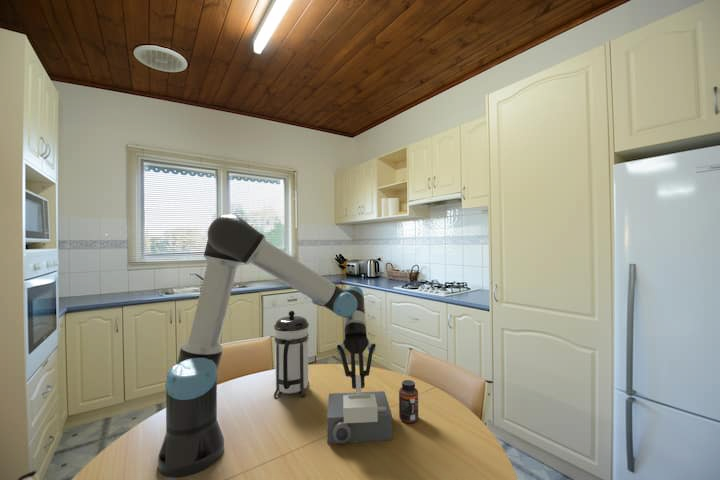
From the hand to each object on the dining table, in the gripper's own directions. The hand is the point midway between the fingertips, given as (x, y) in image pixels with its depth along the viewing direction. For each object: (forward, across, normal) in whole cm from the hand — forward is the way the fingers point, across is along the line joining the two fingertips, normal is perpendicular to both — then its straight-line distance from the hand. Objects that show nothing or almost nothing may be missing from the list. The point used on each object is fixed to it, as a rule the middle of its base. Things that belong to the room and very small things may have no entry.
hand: (359, 399), depth 91 cm
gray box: (+6, 0, -8) cm, 10 cm away
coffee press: (-12, +23, -26) cm, 37 cm away
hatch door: (+5, 0, +2) cm, 5 cm away
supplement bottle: (+3, -16, -11) cm, 19 cm away
